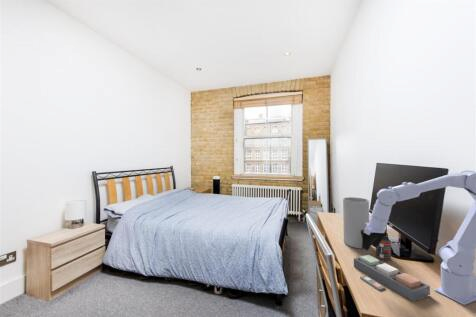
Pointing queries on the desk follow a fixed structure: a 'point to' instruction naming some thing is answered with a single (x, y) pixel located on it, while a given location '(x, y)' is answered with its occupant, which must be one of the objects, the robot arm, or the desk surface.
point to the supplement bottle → (384, 249)
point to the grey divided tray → (393, 281)
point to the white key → (387, 269)
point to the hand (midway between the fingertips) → (369, 247)
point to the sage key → (369, 260)
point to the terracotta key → (408, 281)
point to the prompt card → (372, 283)
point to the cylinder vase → (355, 220)
